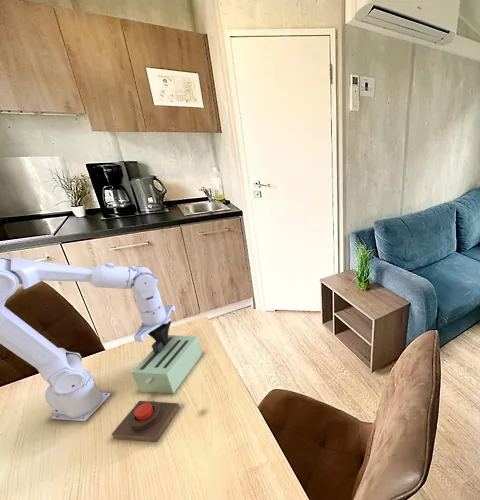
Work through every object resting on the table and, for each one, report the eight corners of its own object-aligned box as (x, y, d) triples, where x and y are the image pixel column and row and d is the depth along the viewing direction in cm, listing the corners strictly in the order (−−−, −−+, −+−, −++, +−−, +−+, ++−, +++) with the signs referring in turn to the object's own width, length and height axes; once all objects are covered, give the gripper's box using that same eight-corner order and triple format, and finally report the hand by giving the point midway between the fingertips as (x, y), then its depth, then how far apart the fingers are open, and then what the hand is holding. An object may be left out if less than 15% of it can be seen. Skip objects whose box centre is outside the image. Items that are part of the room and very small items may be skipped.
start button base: (113, 438, 69) (108, 429, 67) (141, 405, 77) (137, 395, 75) (157, 441, 68) (153, 432, 66) (180, 407, 76) (177, 398, 75)
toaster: (135, 396, 79) (126, 376, 76) (173, 352, 94) (167, 334, 91) (169, 398, 79) (162, 378, 75) (202, 354, 94) (197, 336, 91)
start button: (132, 420, 70) (130, 415, 69) (143, 407, 73) (141, 402, 72) (146, 421, 69) (144, 416, 69) (156, 408, 73) (155, 403, 72)
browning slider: (153, 352, 84) (151, 345, 83) (158, 347, 86) (156, 341, 85) (159, 352, 84) (157, 346, 83) (164, 348, 86) (161, 341, 85)
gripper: (146, 323, 74) (160, 362, 80) (179, 293, 88) (189, 328, 93) (120, 322, 75) (136, 361, 80) (158, 292, 88) (169, 327, 93)
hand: (163, 343), depth 87 cm, fingers closed
